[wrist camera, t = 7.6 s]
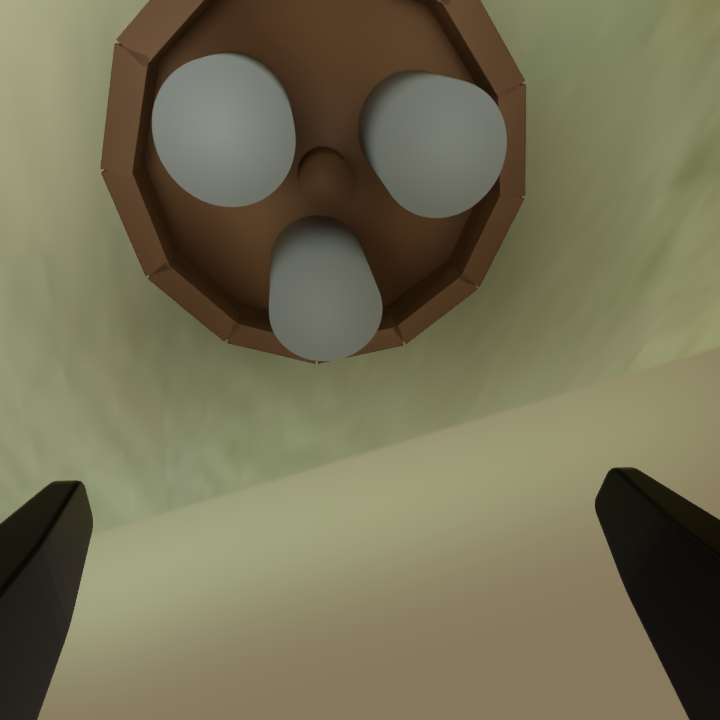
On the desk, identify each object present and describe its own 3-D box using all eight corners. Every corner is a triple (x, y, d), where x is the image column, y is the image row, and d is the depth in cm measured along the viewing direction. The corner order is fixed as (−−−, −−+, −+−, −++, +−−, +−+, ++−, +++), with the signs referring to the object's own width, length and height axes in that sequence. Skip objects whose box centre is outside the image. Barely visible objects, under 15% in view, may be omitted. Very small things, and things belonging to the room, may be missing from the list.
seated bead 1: (239, 192, 16) (229, 233, 13) (156, 108, 15) (120, 129, 12) (314, 120, 16) (324, 144, 12) (234, 23, 14) (220, 19, 11)
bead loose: (358, 304, 19) (376, 361, 16) (270, 302, 19) (269, 361, 15) (367, 217, 17) (389, 261, 14) (270, 212, 17) (268, 256, 13)
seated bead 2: (399, 202, 17) (428, 242, 14) (336, 122, 16) (352, 146, 12) (478, 134, 16) (529, 159, 13) (420, 43, 15) (461, 46, 12)
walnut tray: (310, 380, 21) (313, 414, 20) (42, 148, 16) (9, 165, 14) (559, 183, 18) (591, 201, 16) (339, -193, 13) (349, -234, 11)
